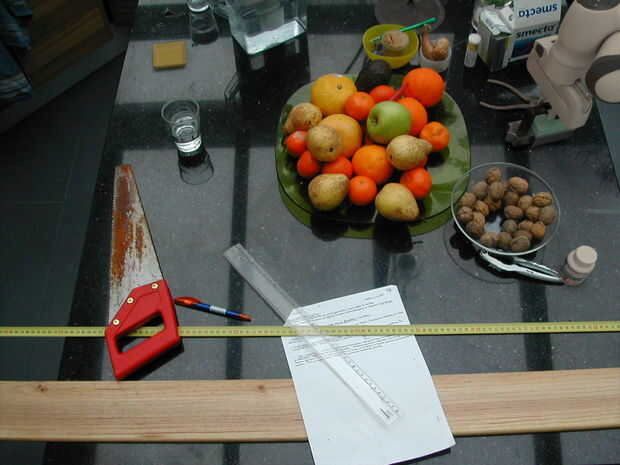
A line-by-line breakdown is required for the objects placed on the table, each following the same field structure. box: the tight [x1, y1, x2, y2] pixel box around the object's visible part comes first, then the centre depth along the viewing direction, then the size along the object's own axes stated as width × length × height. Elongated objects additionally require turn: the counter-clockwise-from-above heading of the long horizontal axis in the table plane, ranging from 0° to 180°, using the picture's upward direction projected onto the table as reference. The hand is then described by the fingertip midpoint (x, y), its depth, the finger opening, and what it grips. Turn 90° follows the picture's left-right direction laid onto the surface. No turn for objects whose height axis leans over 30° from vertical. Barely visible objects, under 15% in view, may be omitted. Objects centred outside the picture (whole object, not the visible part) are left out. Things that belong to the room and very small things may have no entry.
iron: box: [504, 103, 576, 148], centre depth 130 cm, size 15×7×10 cm, turn 105°
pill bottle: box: [557, 245, 598, 286], centre depth 113 cm, size 5×5×9 cm
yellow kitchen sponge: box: [152, 40, 187, 69], centre depth 151 cm, size 9×9×2 cm
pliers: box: [479, 79, 539, 111], centre depth 142 cm, size 10×1×20 cm
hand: (545, 111), depth 127 cm, fingers closed on iron, 2 cm apart
